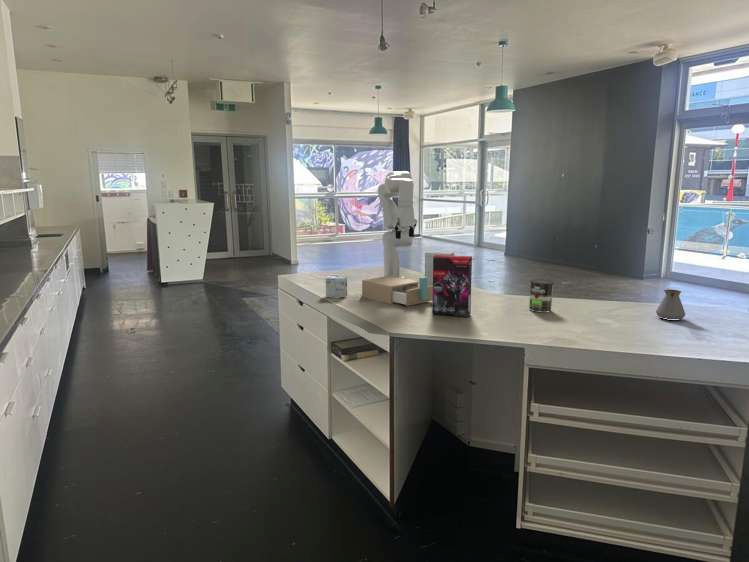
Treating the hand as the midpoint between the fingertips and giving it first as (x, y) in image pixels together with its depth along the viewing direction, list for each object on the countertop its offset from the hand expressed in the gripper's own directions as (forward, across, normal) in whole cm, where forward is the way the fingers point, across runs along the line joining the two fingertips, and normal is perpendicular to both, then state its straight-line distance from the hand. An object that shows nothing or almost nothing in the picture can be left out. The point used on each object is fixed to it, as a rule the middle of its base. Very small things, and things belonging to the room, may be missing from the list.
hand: (404, 237), depth 265 cm
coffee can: (+30, -28, +64) cm, 76 cm away
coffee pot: (+29, -52, +112) cm, 127 cm away
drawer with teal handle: (+30, +6, +9) cm, 32 cm away
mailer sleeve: (+32, +6, -4) cm, 32 cm away
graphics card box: (+30, +10, +40) cm, 51 cm away
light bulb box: (+32, +26, -24) cm, 48 cm away
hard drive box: (+33, -35, -5) cm, 48 cm away
